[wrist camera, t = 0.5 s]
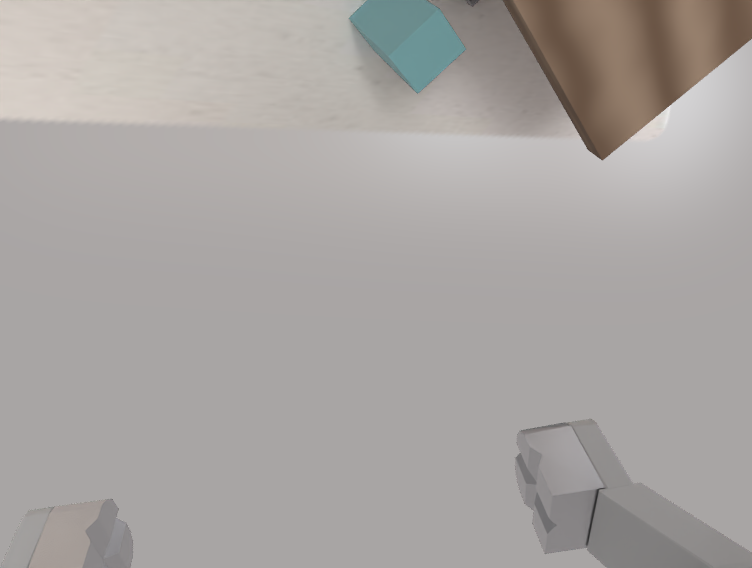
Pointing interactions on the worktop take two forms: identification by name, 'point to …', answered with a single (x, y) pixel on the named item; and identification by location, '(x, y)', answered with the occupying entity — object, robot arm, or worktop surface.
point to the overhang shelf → (627, 56)
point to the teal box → (409, 38)
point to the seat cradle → (472, 2)
